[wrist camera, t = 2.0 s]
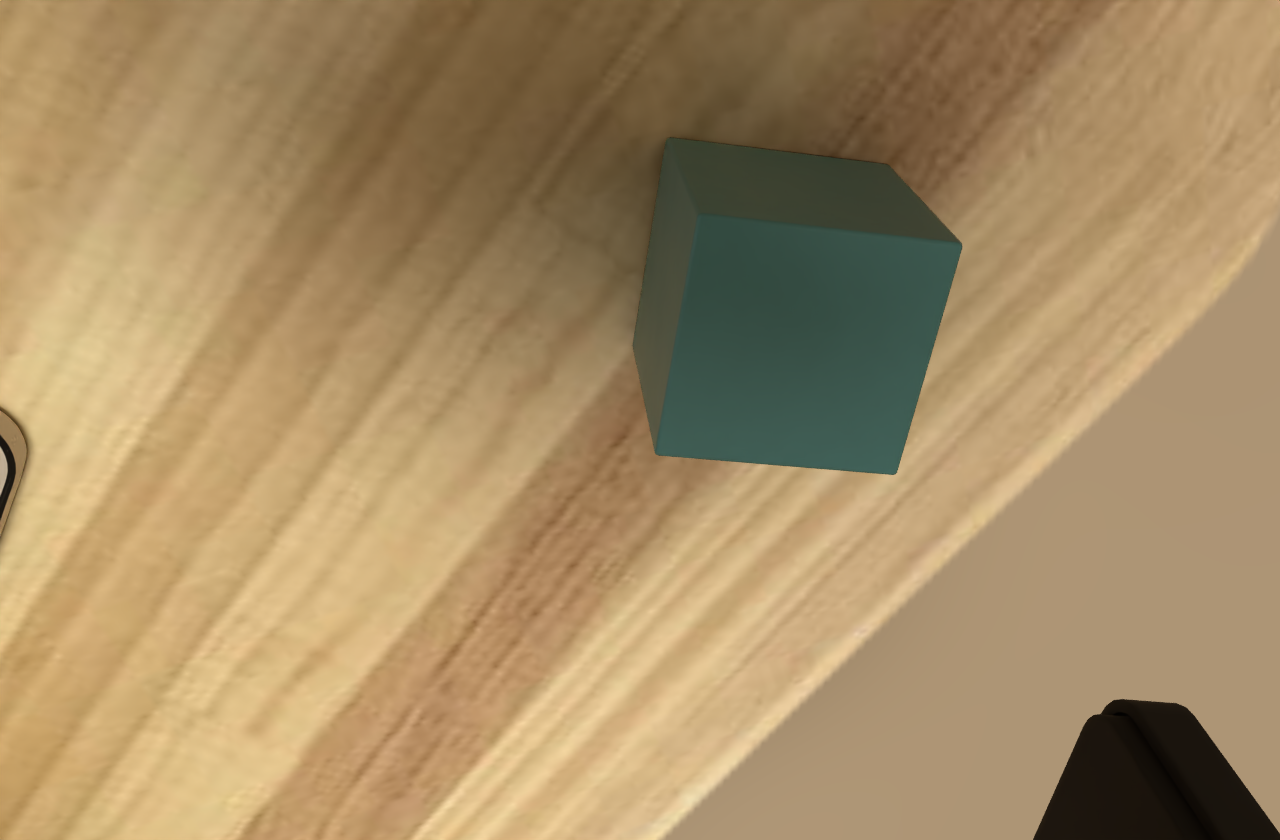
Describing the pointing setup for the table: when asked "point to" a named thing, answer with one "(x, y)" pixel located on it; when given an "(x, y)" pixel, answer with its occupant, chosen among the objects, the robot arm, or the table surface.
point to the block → (787, 308)
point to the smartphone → (10, 464)
